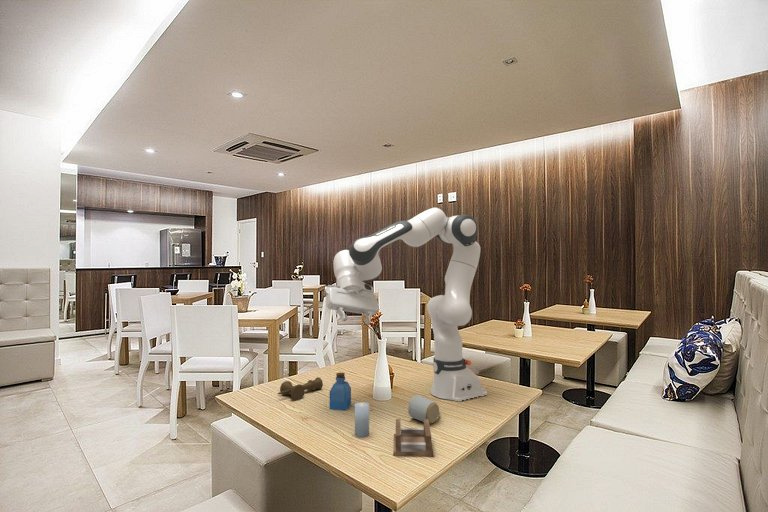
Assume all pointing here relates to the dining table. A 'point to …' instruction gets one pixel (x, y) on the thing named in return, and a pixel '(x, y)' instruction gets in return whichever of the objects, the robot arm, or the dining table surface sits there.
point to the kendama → (300, 388)
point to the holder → (412, 440)
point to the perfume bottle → (340, 393)
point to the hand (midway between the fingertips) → (356, 321)
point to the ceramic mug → (423, 409)
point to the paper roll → (361, 419)
